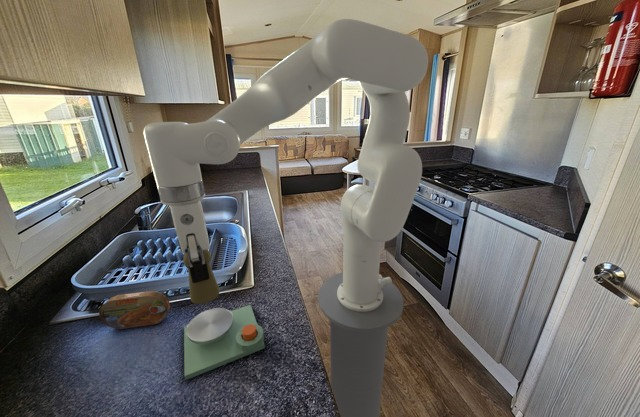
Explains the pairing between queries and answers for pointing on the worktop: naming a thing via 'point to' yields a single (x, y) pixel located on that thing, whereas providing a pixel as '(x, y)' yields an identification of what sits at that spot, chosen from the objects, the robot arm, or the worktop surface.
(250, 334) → the tare button
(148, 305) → the tin
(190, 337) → the pan
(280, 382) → the worktop surface
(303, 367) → the worktop surface
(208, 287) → the olive game pawn
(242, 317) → the scale
